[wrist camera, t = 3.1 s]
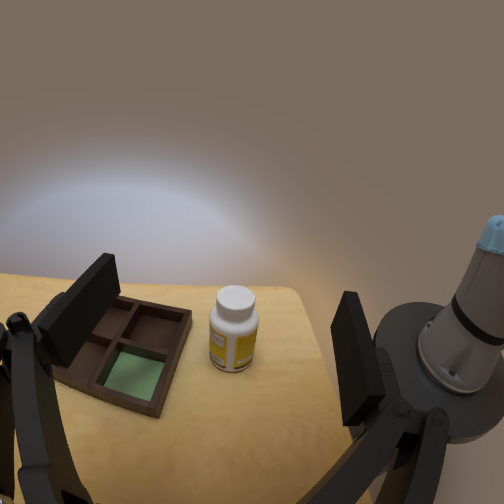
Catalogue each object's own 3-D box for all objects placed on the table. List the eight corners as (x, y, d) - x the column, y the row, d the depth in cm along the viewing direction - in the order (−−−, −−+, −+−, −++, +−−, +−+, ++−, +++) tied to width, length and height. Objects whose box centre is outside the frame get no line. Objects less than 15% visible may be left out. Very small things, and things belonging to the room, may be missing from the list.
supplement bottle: (254, 343, 35) (264, 284, 30) (250, 376, 30) (261, 318, 26) (213, 337, 35) (215, 278, 30) (205, 369, 30) (204, 309, 26)
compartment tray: (192, 322, 37) (191, 310, 36) (158, 418, 24) (154, 409, 22) (98, 301, 38) (95, 289, 36) (48, 376, 24) (40, 364, 23)
